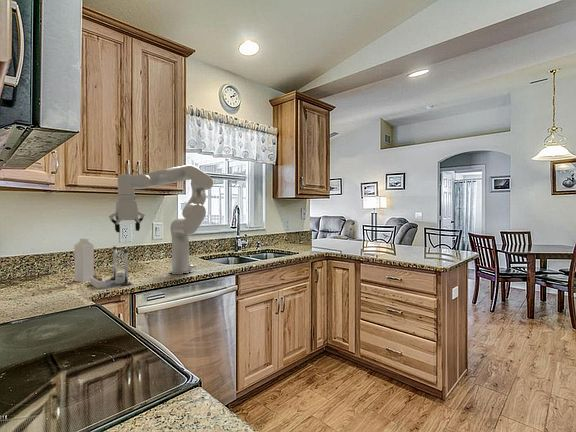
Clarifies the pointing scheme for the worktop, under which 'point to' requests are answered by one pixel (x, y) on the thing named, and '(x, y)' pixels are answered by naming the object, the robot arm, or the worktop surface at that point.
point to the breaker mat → (108, 283)
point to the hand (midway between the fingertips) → (127, 231)
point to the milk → (84, 260)
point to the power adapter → (120, 277)
